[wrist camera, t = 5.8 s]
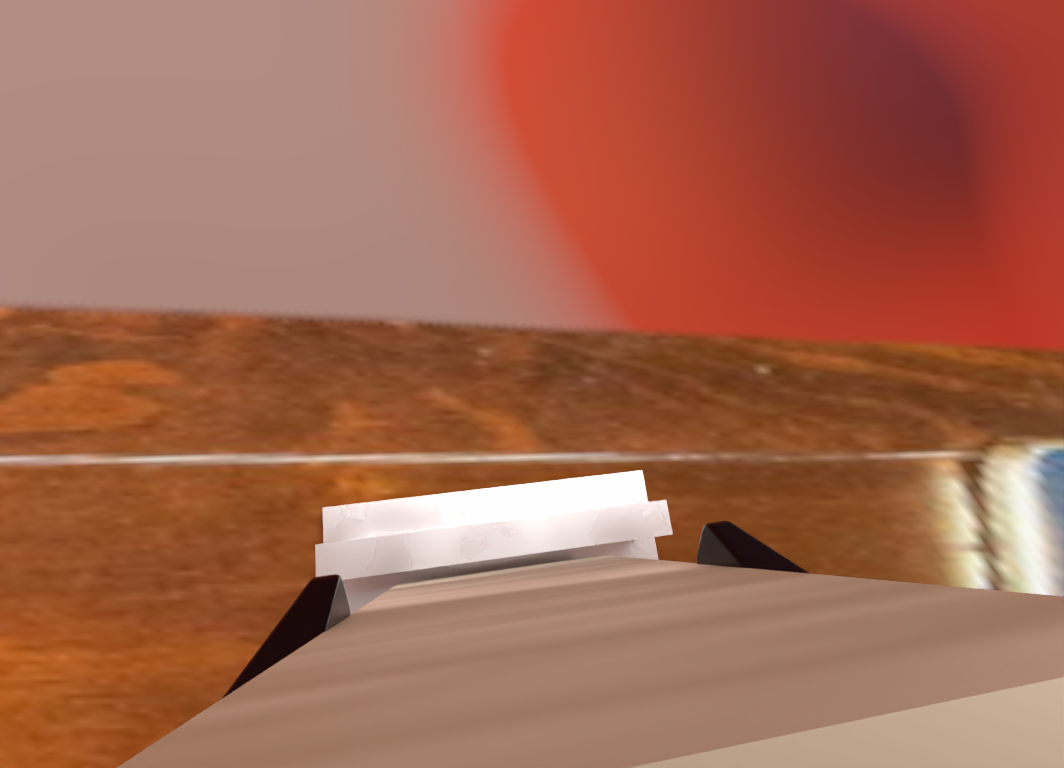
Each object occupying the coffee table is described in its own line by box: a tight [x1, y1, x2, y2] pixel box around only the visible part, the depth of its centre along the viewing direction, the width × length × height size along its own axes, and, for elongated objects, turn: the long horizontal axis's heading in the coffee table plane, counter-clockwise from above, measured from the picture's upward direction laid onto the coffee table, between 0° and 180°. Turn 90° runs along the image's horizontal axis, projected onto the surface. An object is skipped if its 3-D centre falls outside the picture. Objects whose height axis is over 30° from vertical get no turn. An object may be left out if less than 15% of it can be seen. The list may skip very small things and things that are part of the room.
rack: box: [315, 470, 673, 615], centre depth 15 cm, size 14×11×4 cm
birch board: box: [117, 555, 1064, 768], centre depth 8 cm, size 2×6×14 cm, turn 97°
